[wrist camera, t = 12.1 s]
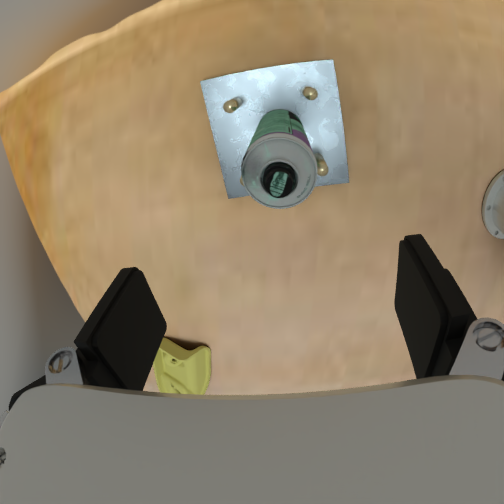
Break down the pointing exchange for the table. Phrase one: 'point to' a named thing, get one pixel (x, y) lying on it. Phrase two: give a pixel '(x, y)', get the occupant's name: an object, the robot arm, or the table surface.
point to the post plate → (270, 98)
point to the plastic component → (182, 369)
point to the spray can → (279, 162)
